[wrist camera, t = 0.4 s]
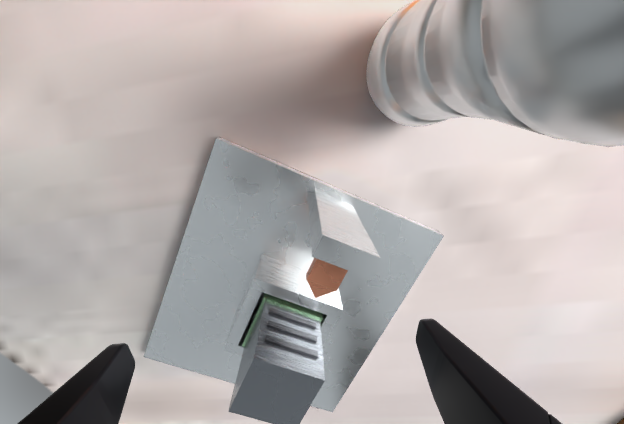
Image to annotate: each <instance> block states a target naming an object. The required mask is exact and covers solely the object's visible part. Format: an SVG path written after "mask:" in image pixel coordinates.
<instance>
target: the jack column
mask: <svg viewBox="0 0 624 424" xmlns="http://www.w3.org/2000/svg"><path fill="white" fill-rule="evenodd" d="M322 319H323V315H322V313H320V312H317V311H314V310H312V309H309V308H306V307H303V306H300V305H297V304H294V303H292V302H289V301H286V300H283V299H280V298H277V297H274V296H272V295H269V294H266V293H263V292H262V293H261V295H260V298H259V300H258V302H257V304H256V306H255V309H254V311H253V313H252V317H251V321H250V325H249V329H248V331H247V333H246V335H245V337H244V340H243V343H242V346H243V347H244V350H243V354H242V358H241V362H240V366H239V370H238V374H237V378H236V382H235V386H234V390H233V395H232V399H231V403H230V407H229V412H232V413H236V414H240V415H243V416H247V417H251V418H254V419H258V420H261V421H265V422H269V423H272V424H300V422H301V420H302V419H303V417H304V415H305V414H306V412H307V410H308V409H309V407H310V405H311V404H312V402H313V400H314V398H315V397H316V395H317V393H318V392H319V390H320V388H321V387H322V385H323V383H324V382H325V373H324V361H323V349H322V338H321V326H320V323H321V321H322Z"/></svg>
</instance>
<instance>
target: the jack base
mask: <svg viewBox="0 0 624 424" xmlns="http://www.w3.org/2000/svg"><path fill="white" fill-rule="evenodd" d="M442 238H443V235H442V234H441V233H440V232H439V231H437V230H435V229H433V228H430V227H428V226H426V225H423V224H421V223H419V222H416V221H414V220H412V219H409V218H407V217H405V216H403V215H400V214H398V213H396V212H393V211H391V210H389V209H386V208H384V207H382V206H379V205H377V204H375V203H372V202H370V201H368V200H365V199H363V198H361V197H358V196H356V195H354V194H351V193H349V192H347V191H344V190H342V189H340V188H337V187H335V186H333V185H330V184H328V183H326V182H323V181H321V180H319V179H316V178H314V177H312V176H309V175H307V174H305V173H302V172H300V171H298V170H295V169H293V168H291V167H288V166H286V165H284V164H281V163H279V162H277V161H275V160H272V159H270V158H268V157H265V156H263V155H261V154H258V153H256V152H254V151H251V150H249V149H247V148H244V147H242V146H240V145H237V144H235V143H233V142H230V141H228V140H226V139H223V138H221V137H219V138H216V140H215V143H214V146H213V149H212V152H211V155H210V158H209V161H208V164H207V167H206V170H205V173H204V176H203V179H202V182H201V185H200V188H199V191H198V194H197V197H196V200H195V203H194V206H193V209H192V212H191V215H190V218H189V221H188V224H187V227H186V230H185V233H184V236H183V239H182V242H181V245H180V248H179V252H178V255H177V258H176V261H175V264H174V267H173V270H172V273H171V276H170V279H169V282H168V285H167V288H166V291H165V294H164V297H163V300H162V303H161V306H160V309H159V312H158V315H157V318H156V321H155V324H154V327H153V330H152V333H151V336H150V339H149V342H148V345H147V348H146V351H145V354H144V357H146V358H149V359H153V360H156V361H159V362H163V363H166V364H170V365H173V366H176V367H180V368H183V369H187V370H190V371H194V372H197V373H200V374H204V375H207V376H211V377H214V378H217V379H221V380H224V381H228V382H231V383H235V382H236V378H237V374H238V370H239V366H240V362H241V358H242V354H243V350H244V347H243V346H242V343H243V340H244V337H245V335H246V333H247V331H248V329H249V325H250V321H251V317H252V313H253V311H254V309H255V306H256V304H257V302H258V300H259V298H260V295H261V293H262V292H263V293H266V294H269V295H272V296H274V297H277V298H280V299H283V300H286V301H289V302H292V303H294V304H297V305H300V306H303V307H306V308H309V309H312V310H314V311H317V312H320V313H322V315H323V319H322V321H321V323H320V326H321V338H322V349H323V361H324V373H325V382H324V383H323V385H322V387H321V388H320V390H319V392H318V393H317V395H316V397H315V398H314V400H313V402H312V404H311V405H310V406H313V407H317V408H320V409H323V410H327V411H330V412H333V411H334V409H335V407H336V406H337V404H338V403H339V401H340V399H341V398H342V396H343V395H344V393H345V392H346V390H347V388H348V387H349V385H350V384H351V382H352V380H353V379H354V377H355V376H356V374H357V373H358V371H359V369H360V368H361V366H362V365H363V363H364V361H365V360H366V358H367V357H368V355H369V354H370V352H371V350H372V349H373V347H374V346H375V344H376V342H377V341H378V339H379V338H380V336H381V335H382V333H383V331H384V330H385V328H386V327H387V325H388V323H389V322H390V320H391V319H392V317H393V316H394V314H395V312H396V311H397V309H398V308H399V306H400V304H401V303H402V301H403V300H404V298H405V297H406V295H407V293H408V292H409V290H410V289H411V287H412V285H413V284H414V282H415V281H416V279H417V278H418V276H419V274H420V273H421V271H422V270H423V268H424V266H425V265H426V263H427V262H428V260H429V259H430V257H431V255H432V254H433V252H434V251H435V249H436V248H437V246H438V244H439V243H440V241H441V240H442Z"/></svg>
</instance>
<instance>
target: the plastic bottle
mask: <svg viewBox="0 0 624 424" xmlns="http://www.w3.org/2000/svg"><path fill="white" fill-rule="evenodd" d="M367 85H368V90H369V93H370V95H371V98H372V100H373V102H374V103H375V105H376V106H377V108H378V109H379V110H380V111H381V112H382V113H383V114H384V115H385V116H387V117H388V118H390V119H391V120H393V121H394V122H396V123H399V124H402V125H404V126H412V127H418V126H427V125H431V124H435V123H438V122H442V121H445V120H447V119H450V118H457V117H464V116H466V117H474V118H482V119H490V120H495V121H499V122H502V123H506V124H509V125H512V126H516V127H519V128H522V129H526V130H529V131H533V132H536V133H539V134H543V135H547V136H550V137H552V138H556V139H562V140H568V141H573V142H578V143H583V144H591V145H598V146H606V147H613V146H624V0H414V1H413V2H411V3H409V4H407V5H406V6H404V7H402V8H401V9H399V10H398V11H397V12H395V13H394V14H393V15H392V16H391V17H390V18H389V19H388V20H387V21H386V22H385V24H384V25H383V26H382V28H381V29H380V31H379V33H378V34H377V36H376V38H375V40H374V42H373V45H372V48H371V51H370V54H369V58H368V63H367Z"/></svg>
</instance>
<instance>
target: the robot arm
mask: <svg viewBox="0 0 624 424" xmlns="http://www.w3.org/2000/svg"><path fill="white" fill-rule="evenodd" d="M416 344H417V347H418V350H419V354H420V357H421V360H422V363H423V366H424V370H425V373H426V376H427V379H428V382H429V386H430V389H431V392H432V394H433V397H434V400H435V402H436V404H437V407H438V409H439V411H440V414H441V416H442V419H443V421H444V423H445V424H562V423H561V422H559V421H558V420H557V419H556V418H555V417H553V416H552V415H551V414H549V415H548V412H547V411H546V410H545V409H543V408H542V407H541V406H540V405H538V404H537V403H536V402H535V401H534V400H532V399H531V398H530V397H529V396H527V395H526V394H525V393H524V392H522V391H521V390H520V389H519V388H518V387H516V386H515V385H514V384H513V383H511V382H510V381H509V380H508V379H507V378H505V377H504V376H503V375H502V374H500V373H499V372H498V371H497V370H496V369H494V368H493V367H492V366H491V365H489V364H488V363H487V362H486V361H484V360H483V359H482V358H481V357H480V356H478V355H477V354H476V353H475V352H473V351H472V350H471V349H470V348H469V347H467V346H466V345H465V344H464V343H462V342H461V341H460V340H459V339H458V338H456V337H455V336H454V335H453V334H451V333H450V332H449V331H448V330H446V329H445V328H444V327H443V326H442V325H440V324H439V323H438V322H437V321H435V320H434V319H422V320H420V321H419V325H418V330H417V334H416ZM134 369H135V361H134V358H133V356H132V354H131V351H130V349H129V347H128V345H127V344H125V343H122V344H112V345H110V346H108V347H107V348H106V349H105V350H103V351H102V352H101V353H100V354H99V355H98V356H96V357H95V358H94V359H93V360H92V361H91V362H89V363H88V364H87V365H86V366H85V367H84V368H82V369H81V370H80V371H79V372H78V373H77V374H75V375H74V376H73V377H72V378H71V379H69V380H68V381H67V382H66V383H65V384H64V385H62V386H61V387H60V388H59V389H58V390H57V391H55V392H54V393H53V394H52V395H51V396H50V397H48V398H47V399H46V400H45V401H44V402H43V403H42V404H40V405H39V406H38V407H37V408H35V409H34V410H33V411H32V412H31V413H30V414H29V415H27V416H26V417H25V418H24V419H23V420H21V421H20V422H19V423H18V424H118V423H119V420H120V417H121V413H122V410H123V406H124V403H125V400H126V396H127V393H128V389H129V386H130V382H131V379H132V376H133V372H134Z"/></svg>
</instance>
